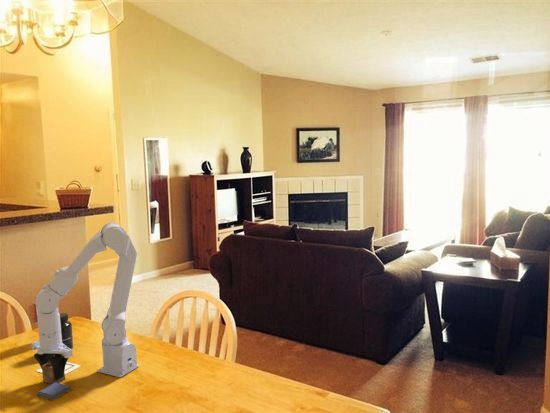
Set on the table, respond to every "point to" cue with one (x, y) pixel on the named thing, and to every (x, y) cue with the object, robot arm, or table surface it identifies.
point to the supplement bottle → (66, 330)
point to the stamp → (50, 374)
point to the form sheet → (66, 367)
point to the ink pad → (53, 391)
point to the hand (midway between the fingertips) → (53, 376)
